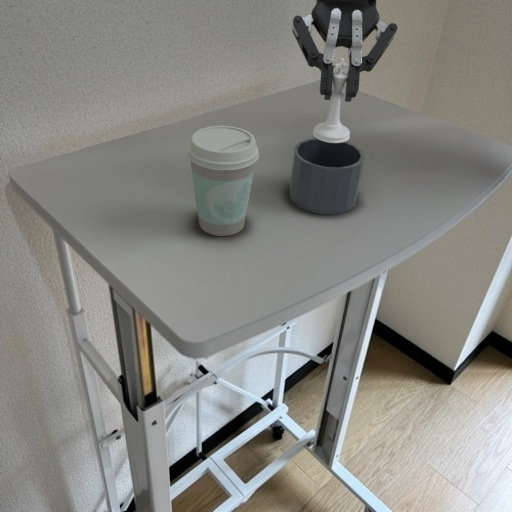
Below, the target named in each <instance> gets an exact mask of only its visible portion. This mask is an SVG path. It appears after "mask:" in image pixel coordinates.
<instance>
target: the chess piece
mask: <svg viewBox="0 0 512 512" xmlns="http://www.w3.org/2000/svg"><path fill="white" fill-rule="evenodd" d="M345 62H346V59H345V58H344V57H340V59H339V63H334V69H338V71H335V72H334V71H333V83H332V87H333V89H332V94H331V97H332V100H331V105H330V108H329V110H328V111H329V112H328V115H327V118H326V120H325V121H324V122H320V123H317V124H316V125H315V126H314V127H313V130H312V135H313V138H317V139H319V140H321V141H324V142H329V143H342V142H345V141H346V142H348V141H349V140H350V138H351V132H350V129H349V128H348V127H347V126H345V125H343V124H342V122H341V121H340V120H341V119H340V118H341V116H340V115H341V99H342V98H345V92H346V91H344V90H343V89H344V87H345V86H346V81H347V79H348V75H347V73H346V72H344V70H345V69H349V62H348V63H347V62H346V63H345Z"/></svg>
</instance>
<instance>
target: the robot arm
mask: <svg viewBox="0 0 512 512" xmlns="http://www.w3.org/2000/svg"><path fill="white" fill-rule="evenodd" d="M312 26H313V27H314V28H315V30H316V32H317V33H318V34H319V36H320V37H321V39H322V41H323V42H324V43H325V46H324V49H323V50H324V51H323V53H322V52H320V51H319V49H318V47H317V45H316V43H315V40H314V39H313V36H312V28H313V27H312ZM398 28H399V27H398V25H397V24H396V23H394V22H391V23H389V24H387V23H386V22H384V21H383V20H381V19H380V13H379V11H378V9H377V0H316V1H315V5H314V7H313V8H312V10H311V13H310V14H308V15H306V16H304V17H303V16H301V15H295V16H294V17H293V18H292V29H291V31H292V34H293V36H294V39H295V40H296V43H297V45H298V46H299V49H300V51H301V53H302V55H303V57H304V59H305V61H306V64H307V65H308V66H309V67H311V68H314V67H315V68H317V69H319V71H320V80H319V81H320V82H319V94H320V96H323V97H324V99H323V100H324V101H331V97H332V96H331V94H332V90H333V73H334V69H335V67H334V66H335V64H333V61H334V58H335V57H334V55H335V50H336V48H341V47H342V48H346V49H347V58H348V64H349V67H348V69H347V73H346V74H347V75H348V79H347V81H346V83H345V91H344V92H345V97H344V102H346V103H347V102H348V103H351V102H352V100H353V99H354V98H356V97H357V95H358V93H359V89H360V79H361V78H360V76H361V73H362V72H367V73H369V72H371V71H373V69H374V68H375V66H376V65H377V63H378V62H379V61H380V59H381V57H382V56H383V55H384V53H385V52H386V50H387V49H388V47H389V46H390V45H391V43H392V42H393V40H394V38H395V35H396V34H397V31H398ZM374 31H375V32H376V33H375V36H374V37H375V41H376V42H375V43H374V45H373V46H372V48H371V49H370V51H369V52H368V54H367V55H364V56H362V55H363V54H362V51H363V50H362V49H363V42H365V40H366V39H367V38H368V37H369V36H370V35H371V34H372V33H373V32H374Z"/></svg>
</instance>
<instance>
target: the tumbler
mask: <svg viewBox="0 0 512 512" xmlns="http://www.w3.org/2000/svg"><path fill="white" fill-rule="evenodd" d="M364 162H365V154H364V152H363V150H362V149H360V148H359V146H357V145H356V144H353V143H351V142H348V141H345V142H342V143H329V142H324V141H321V140H319V139H317V138H315V137H312V138H306V139H304V140H301V141H298V142H297V144H295V146H294V148H293V153H292V164H291V175H290V181H289V182H290V183H289V198H290V201H291V202H292V203H293V204H294V205H295V206H297V207H298V208H300V209H302V210H304V211H306V212H310V213H312V214H317V215H327V216H328V215H329V216H331V215H332V216H333V215H340V214H343V213H346V212H349V211H351V210H352V209H353V208H354V206H355V204H356V202H357V198H358V194H359V189H360V184H361V180H362V179H361V178H362V173H363V168H364Z"/></svg>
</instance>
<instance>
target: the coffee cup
mask: <svg viewBox="0 0 512 512" xmlns="http://www.w3.org/2000/svg"><path fill="white" fill-rule="evenodd" d="M186 155H187V158H188V159H189V160H190V169H191V175H192V183H193V189H194V196H195V201H196V202H195V203H196V210H197V216H198V217H197V218H198V223H199V227H200V229H201V230H202V231H203V232H204V233H207V234H209V235H212V236H216V237H228V236H232V235H235V234H238V233H239V232H241V231H242V230H243V229H244V228H245V221H246V217H247V212H248V206H249V200H250V194H251V188H252V183H253V178H254V172H255V166H256V162H257V161H258V159H259V158H260V153H259V147H258V145H257V142H256V138H255V136H254V135H253V133H251V132H249V131H248V130H246V129H244V128H240V127H237V126H232V125H212V126H206V127H203V128H200V129H198V130H197V131H195V132H194V133H193V134H192V135H191V139H190V142H189V144H188V145H187V151H186Z"/></svg>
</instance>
